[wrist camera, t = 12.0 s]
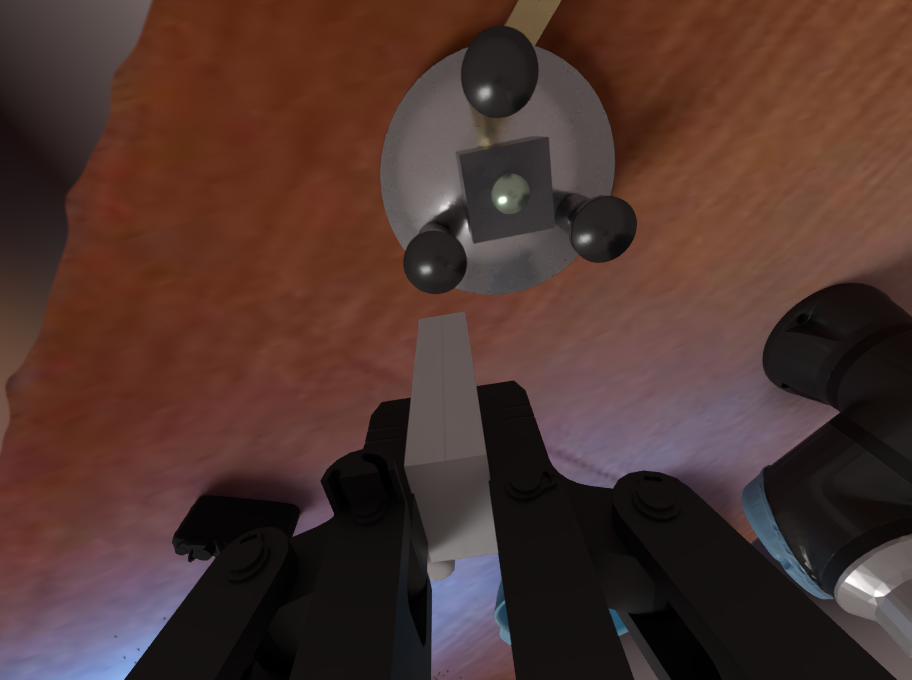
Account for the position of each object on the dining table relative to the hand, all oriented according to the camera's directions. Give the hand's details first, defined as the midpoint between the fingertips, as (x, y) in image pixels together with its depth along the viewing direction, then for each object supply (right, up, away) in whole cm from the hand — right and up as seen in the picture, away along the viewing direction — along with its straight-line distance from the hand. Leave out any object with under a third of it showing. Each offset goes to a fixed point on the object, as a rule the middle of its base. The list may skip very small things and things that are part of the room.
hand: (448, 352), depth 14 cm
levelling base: (+4, +16, +26) cm, 31 cm away
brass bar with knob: (+5, +25, +19) cm, 32 cm away
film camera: (-30, -26, +46) cm, 61 cm away
